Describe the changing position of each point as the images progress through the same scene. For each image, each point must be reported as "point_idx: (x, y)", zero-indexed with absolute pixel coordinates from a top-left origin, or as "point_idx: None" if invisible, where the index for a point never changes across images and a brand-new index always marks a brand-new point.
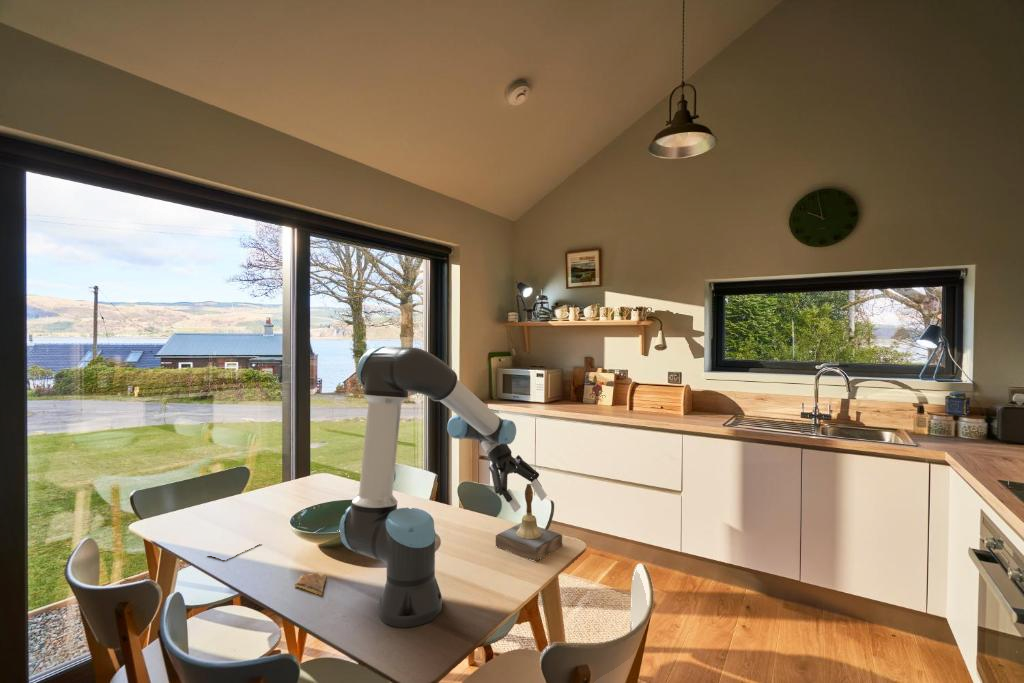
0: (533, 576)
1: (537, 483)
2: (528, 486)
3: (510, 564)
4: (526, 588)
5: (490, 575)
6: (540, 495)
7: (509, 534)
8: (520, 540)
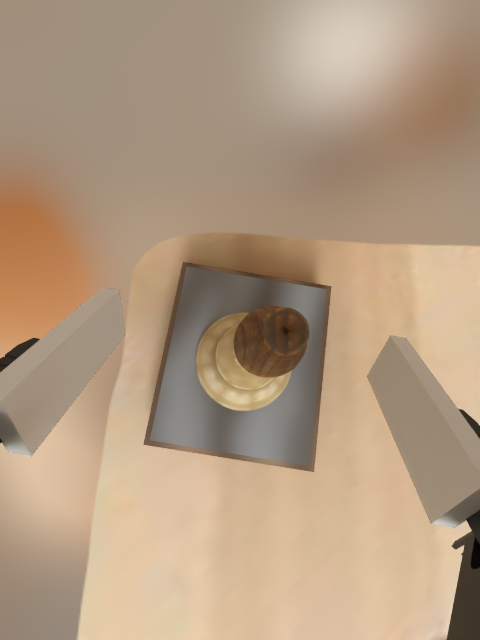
0: (383, 269)
1: (44, 360)
2: (306, 323)
3: (368, 352)
4: (439, 258)
5: (449, 367)
6: (110, 336)
7: (287, 422)
8: (307, 359)
